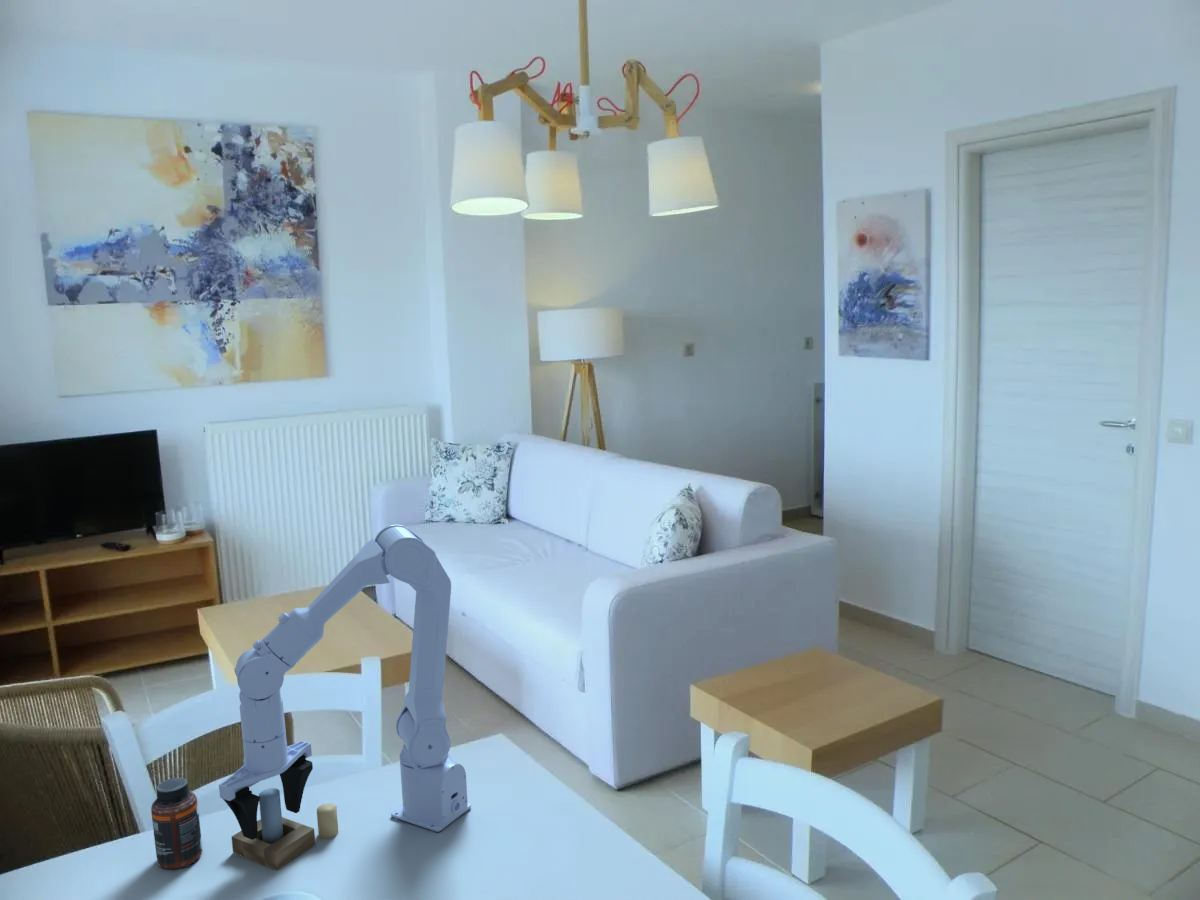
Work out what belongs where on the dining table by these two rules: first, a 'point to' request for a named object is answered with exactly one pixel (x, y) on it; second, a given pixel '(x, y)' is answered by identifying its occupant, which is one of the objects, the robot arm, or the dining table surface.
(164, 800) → the supplement bottle
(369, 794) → the dining table surface
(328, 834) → the short dowel
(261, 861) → the block with square hole
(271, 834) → the long dowel
